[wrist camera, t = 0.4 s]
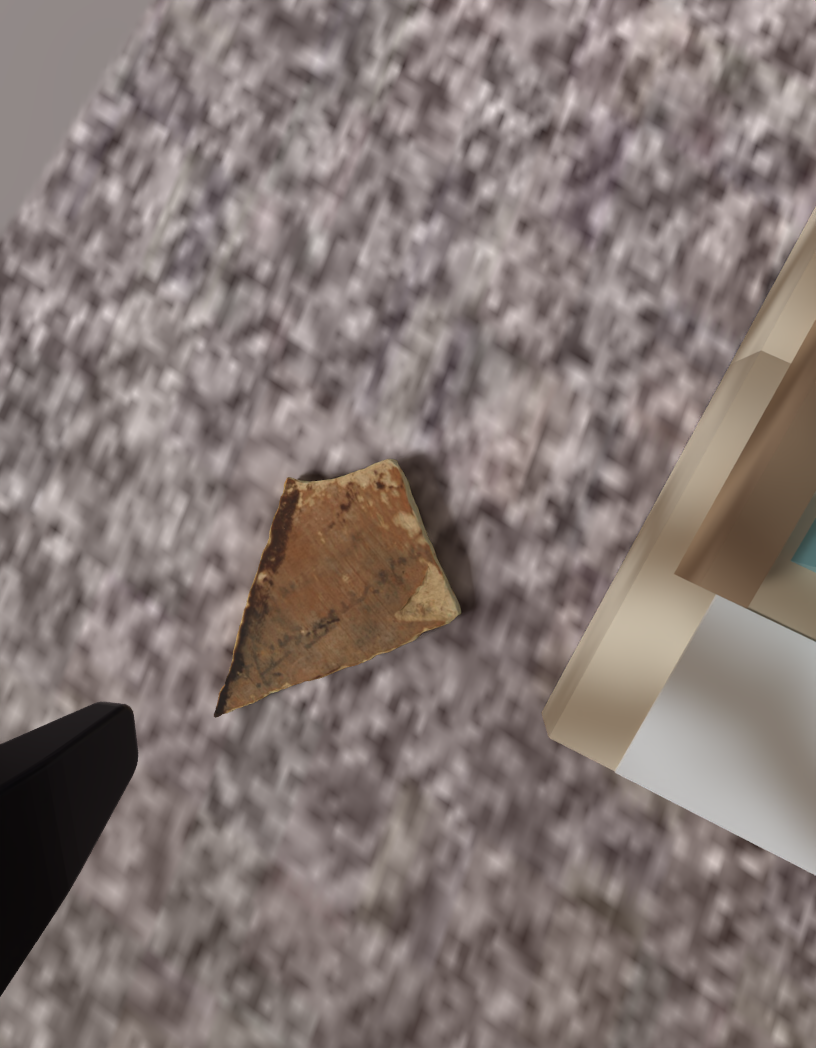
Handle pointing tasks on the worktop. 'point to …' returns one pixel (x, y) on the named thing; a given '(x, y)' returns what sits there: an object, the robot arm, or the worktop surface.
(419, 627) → the shard
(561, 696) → the beige tray
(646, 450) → the worktop surface
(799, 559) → the tall block
